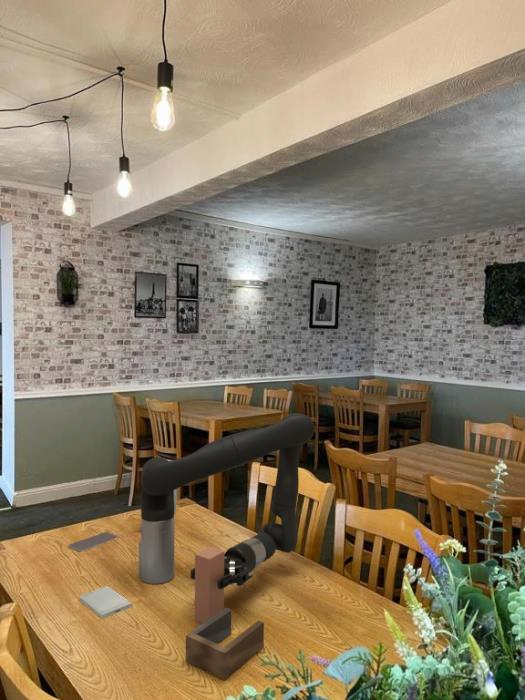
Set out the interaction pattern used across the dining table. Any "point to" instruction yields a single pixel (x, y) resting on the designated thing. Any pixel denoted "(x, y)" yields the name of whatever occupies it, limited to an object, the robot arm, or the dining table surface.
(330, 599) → the dining table surface
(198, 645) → the book slot
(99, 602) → the hard drive
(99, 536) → the smartphone
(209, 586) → the reddish pink rectangular block
